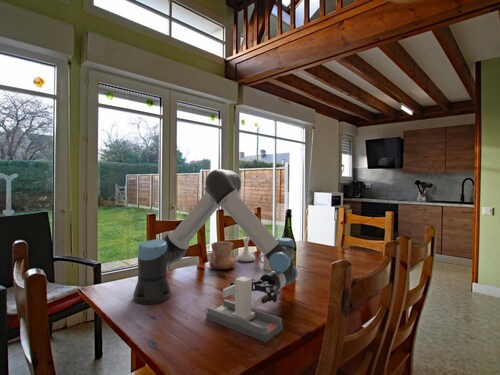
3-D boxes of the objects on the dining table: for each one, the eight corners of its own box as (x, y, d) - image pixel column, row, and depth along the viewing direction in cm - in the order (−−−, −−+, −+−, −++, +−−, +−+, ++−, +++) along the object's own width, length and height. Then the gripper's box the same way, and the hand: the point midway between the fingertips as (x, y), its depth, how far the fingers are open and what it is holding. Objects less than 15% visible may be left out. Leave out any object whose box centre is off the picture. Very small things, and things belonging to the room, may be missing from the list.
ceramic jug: (222, 262, 180) (222, 239, 180) (241, 266, 172) (241, 242, 171) (201, 270, 166) (201, 244, 165) (220, 274, 157) (220, 248, 157)
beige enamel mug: (281, 267, 170) (281, 247, 170) (275, 272, 162) (275, 251, 162) (262, 264, 176) (262, 245, 176) (255, 268, 168) (255, 248, 167)
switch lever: (231, 317, 102) (231, 279, 102) (241, 311, 107) (242, 275, 107) (244, 323, 98) (245, 283, 98) (255, 316, 103) (255, 278, 103)
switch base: (206, 318, 106) (206, 307, 106) (224, 309, 114) (224, 298, 114) (266, 342, 91) (266, 330, 91) (282, 330, 99) (283, 318, 99)
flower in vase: (240, 263, 178) (241, 222, 177) (234, 259, 188) (234, 220, 188) (260, 261, 183) (261, 221, 182) (252, 257, 193) (253, 219, 193)
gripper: (300, 298, 110) (269, 319, 93) (247, 284, 125) (211, 300, 108) (300, 278, 110) (269, 296, 93) (247, 266, 125) (212, 279, 108)
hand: (238, 298), depth 100 cm, fingers open, 13 cm apart
